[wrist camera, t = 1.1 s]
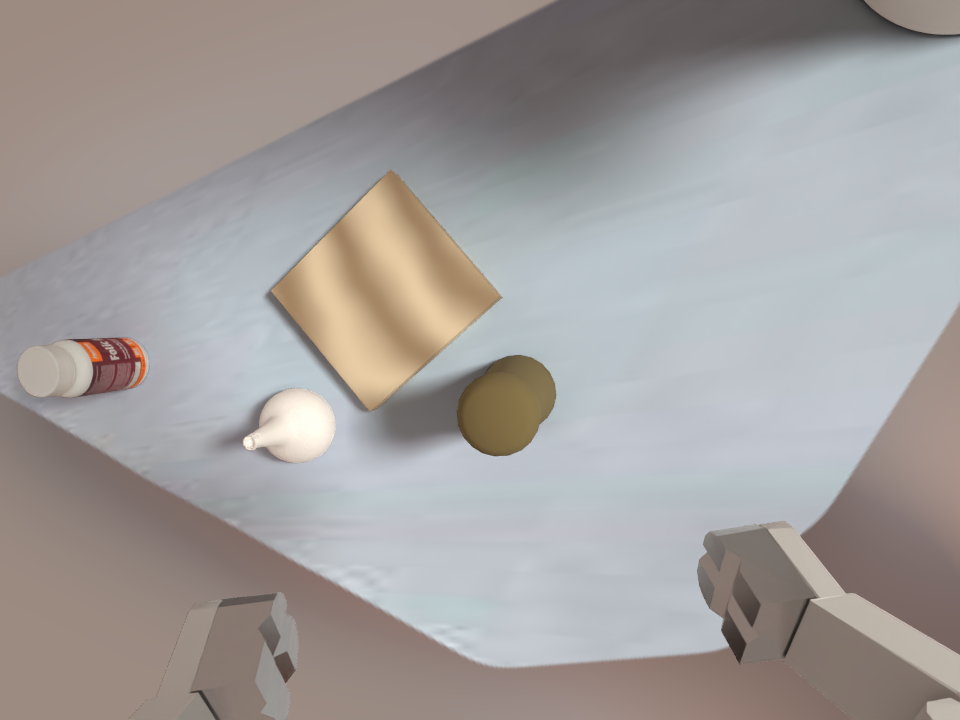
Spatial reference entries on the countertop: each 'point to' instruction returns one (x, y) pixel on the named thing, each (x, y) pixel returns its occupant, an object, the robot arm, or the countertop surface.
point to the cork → (506, 405)
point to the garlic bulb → (294, 426)
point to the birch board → (385, 292)
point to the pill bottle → (82, 367)
